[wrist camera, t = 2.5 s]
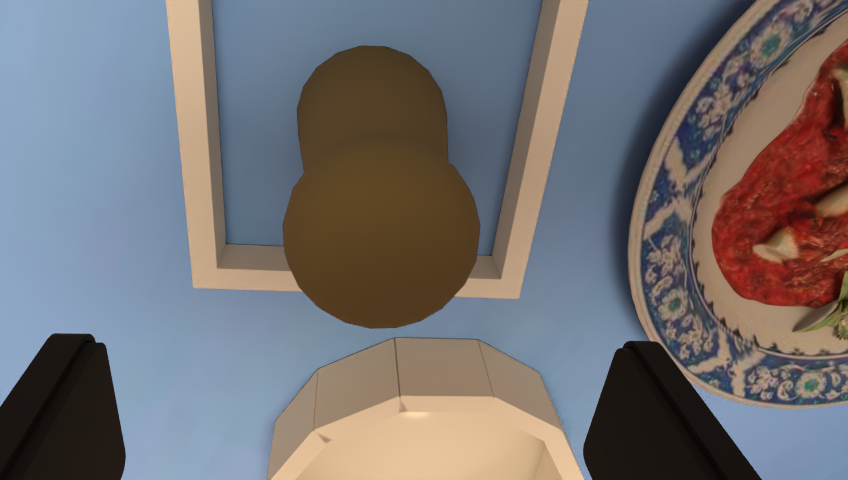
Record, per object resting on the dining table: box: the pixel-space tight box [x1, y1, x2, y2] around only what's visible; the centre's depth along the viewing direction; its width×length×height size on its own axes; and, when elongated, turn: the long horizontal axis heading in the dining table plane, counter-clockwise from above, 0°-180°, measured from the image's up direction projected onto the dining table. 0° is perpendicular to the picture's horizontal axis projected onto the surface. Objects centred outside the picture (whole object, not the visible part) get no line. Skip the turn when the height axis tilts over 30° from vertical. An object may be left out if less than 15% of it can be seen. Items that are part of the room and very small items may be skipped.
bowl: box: [267, 338, 584, 480], centre depth 32 cm, size 16×16×4 cm
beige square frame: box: [166, 0, 589, 299], centre depth 23 cm, size 14×14×2 cm
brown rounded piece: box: [282, 46, 480, 328], centre depth 19 cm, size 6×6×11 cm
